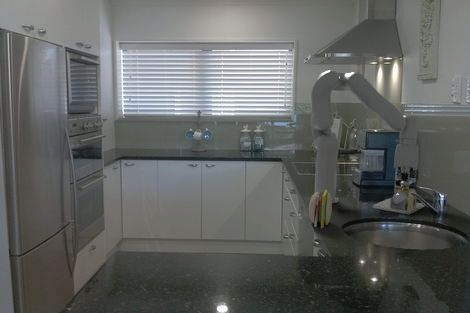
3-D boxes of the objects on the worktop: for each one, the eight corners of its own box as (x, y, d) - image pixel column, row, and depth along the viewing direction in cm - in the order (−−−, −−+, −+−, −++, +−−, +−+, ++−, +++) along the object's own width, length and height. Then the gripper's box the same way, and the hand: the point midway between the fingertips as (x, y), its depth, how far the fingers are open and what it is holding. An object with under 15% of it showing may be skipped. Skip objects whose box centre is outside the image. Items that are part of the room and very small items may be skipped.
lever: (408, 186, 188) (408, 183, 188) (399, 185, 190) (399, 182, 190) (417, 181, 200) (417, 178, 200) (409, 180, 203) (409, 177, 202)
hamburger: (310, 218, 171) (312, 188, 170) (331, 220, 169) (333, 190, 167) (306, 226, 160) (307, 194, 158) (329, 228, 157) (330, 196, 156)
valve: (409, 214, 180) (411, 191, 179) (372, 207, 190) (373, 186, 189) (424, 206, 195) (426, 185, 194) (389, 200, 206) (390, 180, 204)
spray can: (391, 194, 220) (394, 155, 218) (397, 192, 225) (400, 154, 223) (404, 196, 216) (407, 156, 213) (410, 194, 221) (413, 155, 218)
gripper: (389, 141, 198) (386, 181, 200) (425, 143, 192) (421, 184, 195) (391, 140, 205) (388, 178, 207) (425, 142, 199) (421, 181, 201)
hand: (404, 181), depth 201 cm, fingers closed
